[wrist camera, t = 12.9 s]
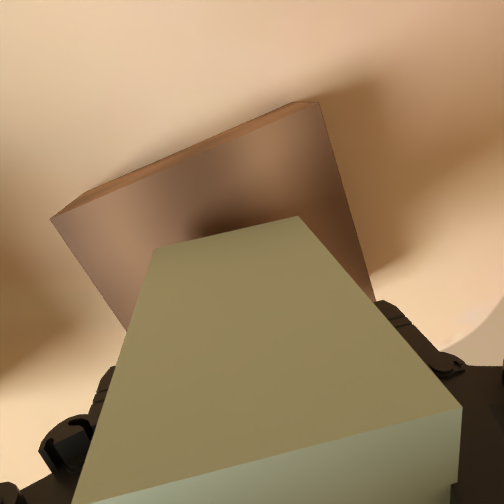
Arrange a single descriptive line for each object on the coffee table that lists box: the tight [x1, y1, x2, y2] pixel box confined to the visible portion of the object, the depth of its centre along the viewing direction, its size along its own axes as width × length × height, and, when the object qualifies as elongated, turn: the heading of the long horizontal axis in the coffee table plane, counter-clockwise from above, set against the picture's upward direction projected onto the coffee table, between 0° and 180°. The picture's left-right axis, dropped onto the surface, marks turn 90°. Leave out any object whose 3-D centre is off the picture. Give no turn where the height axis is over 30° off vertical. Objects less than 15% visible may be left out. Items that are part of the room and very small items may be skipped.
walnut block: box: [50, 102, 376, 331], centre depth 19 cm, size 12×12×5 cm
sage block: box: [71, 216, 463, 504], centre depth 11 cm, size 6×6×10 cm
